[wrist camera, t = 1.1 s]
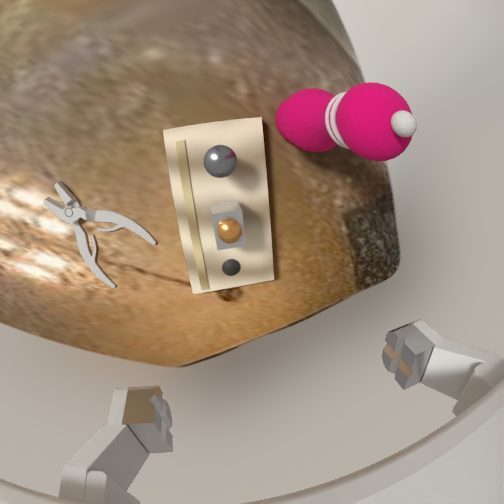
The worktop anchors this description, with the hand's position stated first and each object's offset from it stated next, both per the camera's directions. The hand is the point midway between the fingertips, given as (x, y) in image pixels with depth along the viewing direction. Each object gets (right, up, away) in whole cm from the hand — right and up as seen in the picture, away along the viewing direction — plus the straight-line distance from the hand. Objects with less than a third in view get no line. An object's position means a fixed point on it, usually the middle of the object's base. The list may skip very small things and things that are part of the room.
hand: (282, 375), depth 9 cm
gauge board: (-5, +9, +26) cm, 28 cm away
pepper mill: (+5, +20, +23) cm, 31 cm away
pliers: (-21, +7, +24) cm, 33 cm away
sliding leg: (-4, +8, +24) cm, 26 cm away
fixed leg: (-5, +15, +22) cm, 27 cm away
